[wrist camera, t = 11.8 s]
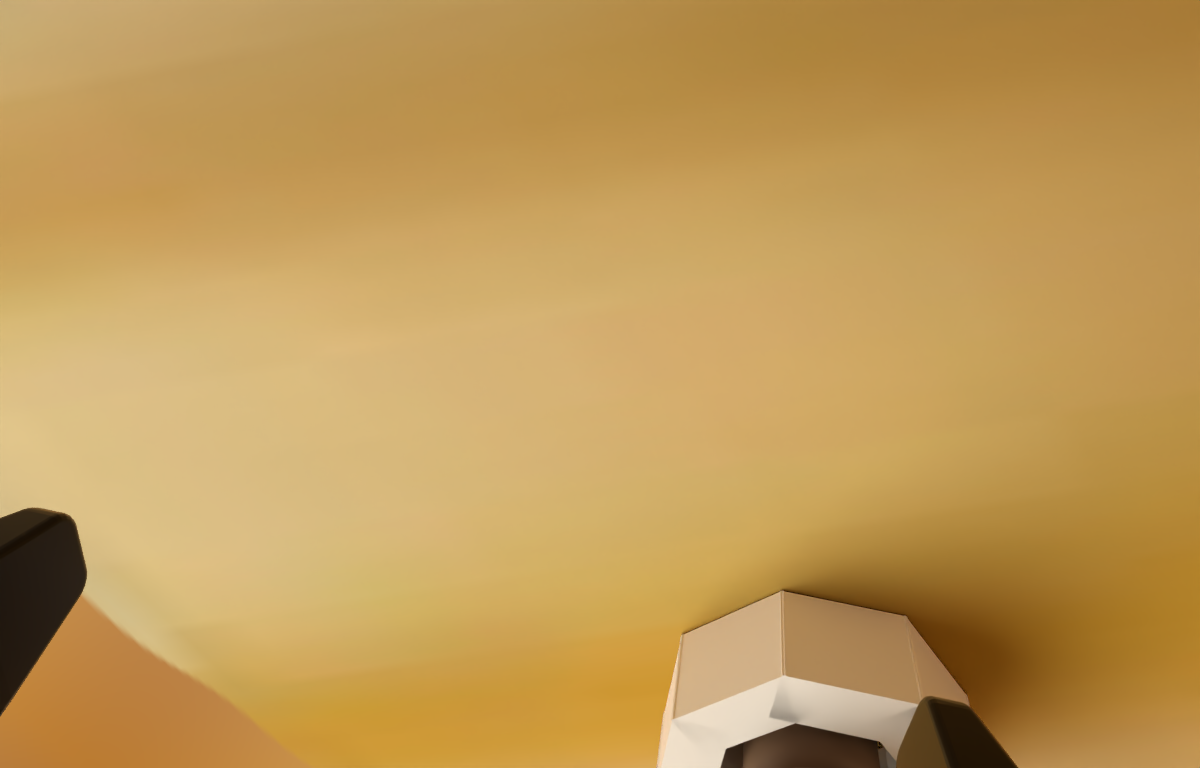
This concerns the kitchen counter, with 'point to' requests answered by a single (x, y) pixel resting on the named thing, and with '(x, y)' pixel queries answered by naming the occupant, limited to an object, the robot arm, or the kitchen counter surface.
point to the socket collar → (797, 679)
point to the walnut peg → (809, 749)
